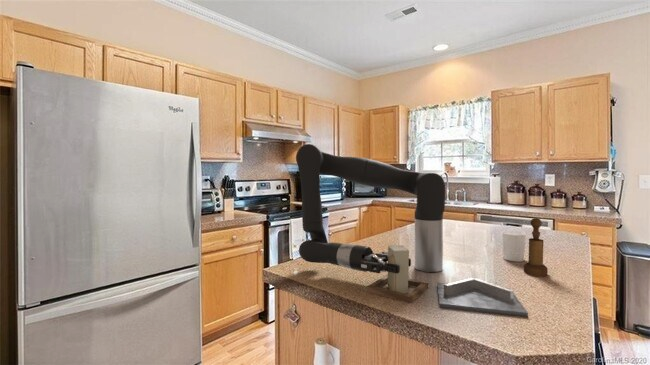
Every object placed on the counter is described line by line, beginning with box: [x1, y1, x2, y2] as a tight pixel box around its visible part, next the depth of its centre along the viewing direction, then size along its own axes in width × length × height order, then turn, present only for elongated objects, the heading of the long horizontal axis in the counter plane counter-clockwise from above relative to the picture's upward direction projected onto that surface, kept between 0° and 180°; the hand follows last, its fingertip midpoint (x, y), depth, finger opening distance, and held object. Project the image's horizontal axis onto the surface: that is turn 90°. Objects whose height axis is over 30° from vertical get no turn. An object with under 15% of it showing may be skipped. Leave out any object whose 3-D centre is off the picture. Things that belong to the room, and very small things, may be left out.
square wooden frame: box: [365, 274, 430, 304], centre depth 90 cm, size 13×13×2 cm
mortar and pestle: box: [523, 217, 548, 277], centre depth 104 cm, size 7×6×18 cm
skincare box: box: [387, 244, 410, 294], centre depth 90 cm, size 6×4×12 cm
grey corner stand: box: [436, 277, 529, 318], centre depth 83 cm, size 16×19×4 cm
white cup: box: [501, 230, 527, 263], centre depth 121 cm, size 8×8×10 cm
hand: (404, 265), depth 89 cm, fingers closed on skincare box, 7 cm apart
